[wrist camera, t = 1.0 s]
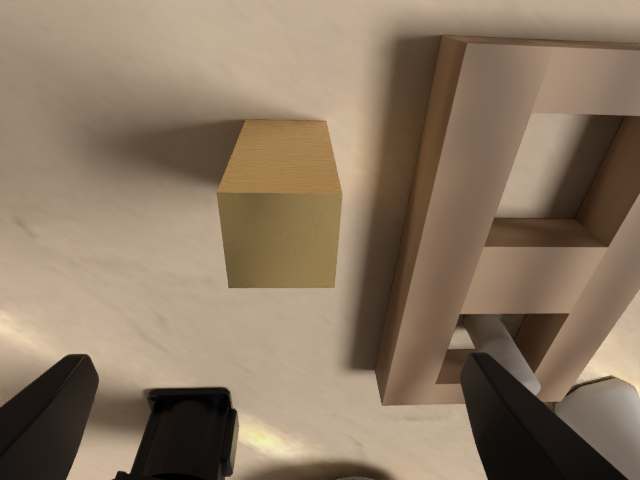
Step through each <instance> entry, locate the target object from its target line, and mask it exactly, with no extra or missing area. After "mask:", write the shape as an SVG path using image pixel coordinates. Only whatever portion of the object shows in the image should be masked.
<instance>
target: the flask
mask: <svg viewBox="0 0 640 480" xmlns="http://www.w3.org/2000/svg"><path fill="white" fill-rule="evenodd" d="M555 414H556V415H558V416H559V417H560V418H561V419H562V420H563V421H564V422H565V423H566V424H568V425H569V426H570V427H571V428H572V429H573V430H574V431H575V432H576V433H578V434H579V435H580V436H581V437H582V438H583V439H584V440H585V441H587V442H588V443H589V444H590V445H591V446H592V447H593V448H594V449H595V450H597V451H598V452H599V453H600V454H601V455H602V456H603V457H604V458H606V459H607V460H608V461H609V462H610V463H611V464H612V465H613V466H614V467H616V468H617V469H618V470H619V471H620V472H621V473H622V474H623V475H624V476H626V477H627V478H628V479H629V480H640V398H639V395H638V393H637V390H636V388H635V387H634V386H632V385H630V384H628V383H626V382H624V381H622V380H620V379H617V378H613V379H609V380H605V381H601V382H597V383H593V384H589V385H585V386H582V387H580V388H578V389H577V390H575V391H574V392H572V393H570V394H569V395H567V396H566V397H564V398H563V400H562V401H560V402H556V403H555Z"/></svg>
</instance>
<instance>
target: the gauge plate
mask: <svg viewBox="0 0 640 480" xmlns="http://www.w3.org/2000/svg"><path fill="white" fill-rule="evenodd" d="M531 113H562V114H595V115H626V116H625V118H624V120H623V122H622V124H621V126H620V128H619V130H618V132H617V134H616V136H615V138H614V140H613V142H612V144H611V146H610V148H609V150H608V152H607V154H606V156H605V158H604V160H603V162H602V164H601V166H600V168H599V170H598V172H597V174H596V176H595V178H594V180H593V182H592V184H591V186H590V188H589V190H588V192H587V194H586V196H585V198H584V200H583V202H582V204H581V206H580V209H579V211H578V213H577V215H576V217H575V219H519V218H494V217H495V214H496V211H497V208H498V205H499V203H500V200H501V197H502V194H503V191H504V188H505V186H506V183H507V180H508V177H509V174H510V171H511V169H512V166H513V163H514V160H515V157H516V155H517V152H518V149H519V146H520V143H521V140H522V138H523V135H524V132H525V129H526V126H527V123H528V121H529V118H530V115H531ZM639 289H640V44H632V43H609V42H586V41H564V40H541V39H518V38H496V37H473V36H450V35H442V37H441V42H440V47H439V52H438V57H437V62H436V67H435V72H434V77H433V82H432V87H431V92H430V97H429V102H428V107H427V112H426V117H425V122H424V127H423V132H422V137H421V143H420V148H419V153H418V158H417V163H416V168H415V173H414V178H413V183H412V188H411V193H410V198H409V203H408V208H407V213H406V218H405V223H404V228H403V233H402V238H401V243H400V248H399V253H398V258H397V263H396V268H395V273H394V278H393V283H392V288H391V293H390V298H389V303H388V308H387V313H386V318H385V323H384V328H383V333H382V338H381V343H380V349H379V354H378V359H377V364H376V369H375V374H376V379H377V384H378V389H379V394H380V398H381V403H382V406H388V405H431V404H465V400H464V396H463V391H462V387H461V383H460V372H461V369H462V367H463V364H464V362H465V360H466V357H467V355H468V354H469V353H470V352H486V353H488V354H489V355H491V356H492V357H493V358H494V359H495V360H496V361H497V362H498V363H499V364H501V365H502V366H503V367H504V368H505V369H506V370H507V371H508V372H510V373H511V374H512V375H513V376H514V377H515V378H516V379H517V380H518V381H520V382H521V383H522V384H523V385H524V386H525V387H526V388H527V389H528V390H530V391H531V392H532V393H533V394H534V395H535V396H536V397H537V398H539V399H540V400H541V401H542V402H560V401H562V400H563V398H564V397H565V396H566V394H567V393H568V391H569V390H570V388H571V387H572V386H573V384H574V383H575V381H576V380H577V378H578V377H579V375H580V374H581V373H582V371H583V370H584V368H585V367H586V365H587V364H588V363H589V361H590V360H591V358H592V357H593V355H594V354H595V352H596V351H597V350H598V348H599V347H600V345H601V344H602V342H603V341H604V340H605V338H606V337H607V335H608V334H609V332H610V331H611V329H612V328H613V327H614V325H615V324H616V322H617V321H618V319H619V318H620V317H621V315H622V314H623V312H624V311H625V309H626V308H627V306H628V305H629V304H630V302H631V301H632V299H633V298H634V296H635V295H636V294H637V292H638V291H639ZM460 314H466V315H465V316H464V319H463V324H464V326H465V328H466V330H467V332H468V334H469V336H470V338H471V340H472V342H473V344H474V346H475V348H476V350H447V349H448V347H449V344H450V341H451V338H452V335H453V332H454V330H455V327H456V324H457V321H458V318H459V315H460ZM497 314H527V315H526V317H525V319H524V321H523V323H522V326H521V328H520V330H519V332H518V334H517V336H516V338H515V340H514V341H513V339H512V338H511V336H510V334H509V333H508V331H507V330H506V328H505V326H504V325H503V323H502V321H501V320H500V318H499V317H498V315H497Z"/></svg>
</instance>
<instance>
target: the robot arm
mask: <svg viewBox="0 0 640 480" xmlns="http://www.w3.org/2000/svg"><path fill="white" fill-rule="evenodd" d="M98 383H99V377H98V374H97V371H96V369H95V367H94V365H93V362H92V360H91V358H90V356H88V355H87V354H70V355H67V356H65V357H64V358H62V359H61V360H60V361H58V362H57V363H56V364H55V365H53V366H52V367H51V368H50V369H48V370H47V371H46V372H45V373H43V374H42V375H41V376H39V377H38V378H37V379H36V380H34V381H33V382H32V383H31V384H29V385H28V386H27V387H25V388H24V389H23V390H22V391H20V392H19V393H18V394H17V395H15V396H14V397H13V398H12V399H10V400H9V401H8V402H6V403H5V404H4V405H3V406H1V407H0V480H66V478H67V476H68V474H69V471H70V469H71V467H72V464H73V462H74V459H75V457H76V454H77V452H78V449H79V446H80V443H81V439H82V436H83V433H84V430H85V427H86V423H87V420H88V417H89V414H90V410H91V407H92V404H93V401H94V398H95V394H96V391H97V388H98ZM460 383H461V387H462V391H463V396H464V400H465V404H466V408H467V412H468V416H469V420H470V424H471V428H472V432H473V436H474V440H475V444H476V447H477V450H478V453H479V456H480V459H481V461H482V464H483V467H484V470H485V473H486V476H487V478H488V480H629V479H628V478H627V477H626V476H624V475H623V474H622V473H621V472H620V471H619V470H618V469H617V468H616V467H614V466H613V465H612V464H611V463H610V462H609V461H608V460H607V459H606V458H604V457H603V456H602V455H601V454H600V453H599V452H598V451H597V450H595V449H594V448H593V447H592V446H591V445H590V444H589V443H588V442H587V441H585V440H584V439H583V438H582V437H581V436H580V435H579V434H578V433H576V432H575V431H574V430H573V429H572V428H571V427H570V426H569V425H568V424H566V423H565V422H564V421H563V420H562V419H561V418H560V417H559V416H558V415H556V414H555V413H554V412H553V411H552V410H551V409H550V408H549V407H547V406H546V405H545V404H544V403H543V402H542V401H541V400H540V399H539V398H537V397H536V396H535V395H534V394H533V393H532V392H531V391H530V390H528V389H527V388H526V387H525V386H524V385H523V384H522V383H521V382H520V381H518V380H517V379H516V378H515V377H514V376H513V375H512V374H511V373H510V372H508V371H507V370H506V369H505V368H504V367H503V366H502V365H501V364H499V363H498V362H497V361H496V360H495V359H494V358H493V357H492V356H491V355H489V354H488V353H486V352H470V353H469V354H468V355H467V357H466V360H465V362H464V364H463V367H462V369H461V372H460ZM147 400H148V402H149V405H150V408H151V410H152V411H151V414H150V417H149V420H148V423H147V426H146V429H145V431H144V434H143V437H142V440H141V443H140V446H139V449H138V452H137V455H136V458H135V460H134V463H133V466H132V469H131V472H130V474H127V473H126V472H123V471H118V472H117V475H116V477H115V479H113V480H225V477H230V476H231V475H232V474H233V469H234V462H235V454H236V446H237V439H238V431H239V422H238V415H237V411H236V409H235V408H234V409H233V406H232V400H231V393H230V391H228V390H224V389H223V390H173V391H151V392H150V393H149V395H148V397H147Z"/></svg>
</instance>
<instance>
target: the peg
mask: <svg viewBox="0 0 640 480" xmlns="http://www.w3.org/2000/svg"><path fill="white" fill-rule="evenodd" d="M217 198H218V206H219V214H220V222H221V230H222V238H223V246H224V254H225V262H226V270H227V278H228V286H229V288H334V287H335V275H336V263H337V251H338V239H339V228H340V216H341V204H342V191H341V186H340V181H339V177H338V172H337V168H336V163H335V159H334V154H333V149H332V145H331V140H330V136H329V131H328V126H327V122H326V121H297V120H261V119H246V120H245V122H244V125H243V128H242V130H241V133H240V135H239V138H238V140H237V143H236V145H235V148H234V150H233V153H232V155H231V158H230V160H229V163H228V165H227V168H226V170H225V173H224V175H223V178H222V180H221V183H220V185H219V188H218V191H217Z"/></svg>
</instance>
